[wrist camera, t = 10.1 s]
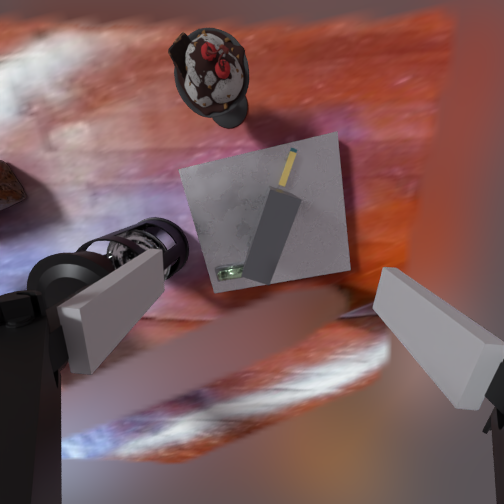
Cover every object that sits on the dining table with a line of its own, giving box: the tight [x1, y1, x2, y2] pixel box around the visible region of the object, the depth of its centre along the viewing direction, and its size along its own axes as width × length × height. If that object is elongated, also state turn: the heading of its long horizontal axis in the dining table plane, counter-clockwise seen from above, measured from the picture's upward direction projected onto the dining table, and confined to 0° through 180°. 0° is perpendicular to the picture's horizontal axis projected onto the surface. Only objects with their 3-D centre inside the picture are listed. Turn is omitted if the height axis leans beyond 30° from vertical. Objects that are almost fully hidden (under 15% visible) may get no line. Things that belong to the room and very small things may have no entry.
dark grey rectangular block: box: [241, 151, 302, 285], centre depth 26 cm, size 14×3×9 cm, turn 162°
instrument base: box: [178, 132, 351, 293], centre depth 32 cm, size 20×18×5 cm
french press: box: [27, 217, 189, 310], centre depth 26 cm, size 12×9×23 cm
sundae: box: [168, 28, 249, 128], centre depth 23 cm, size 7×7×15 cm
